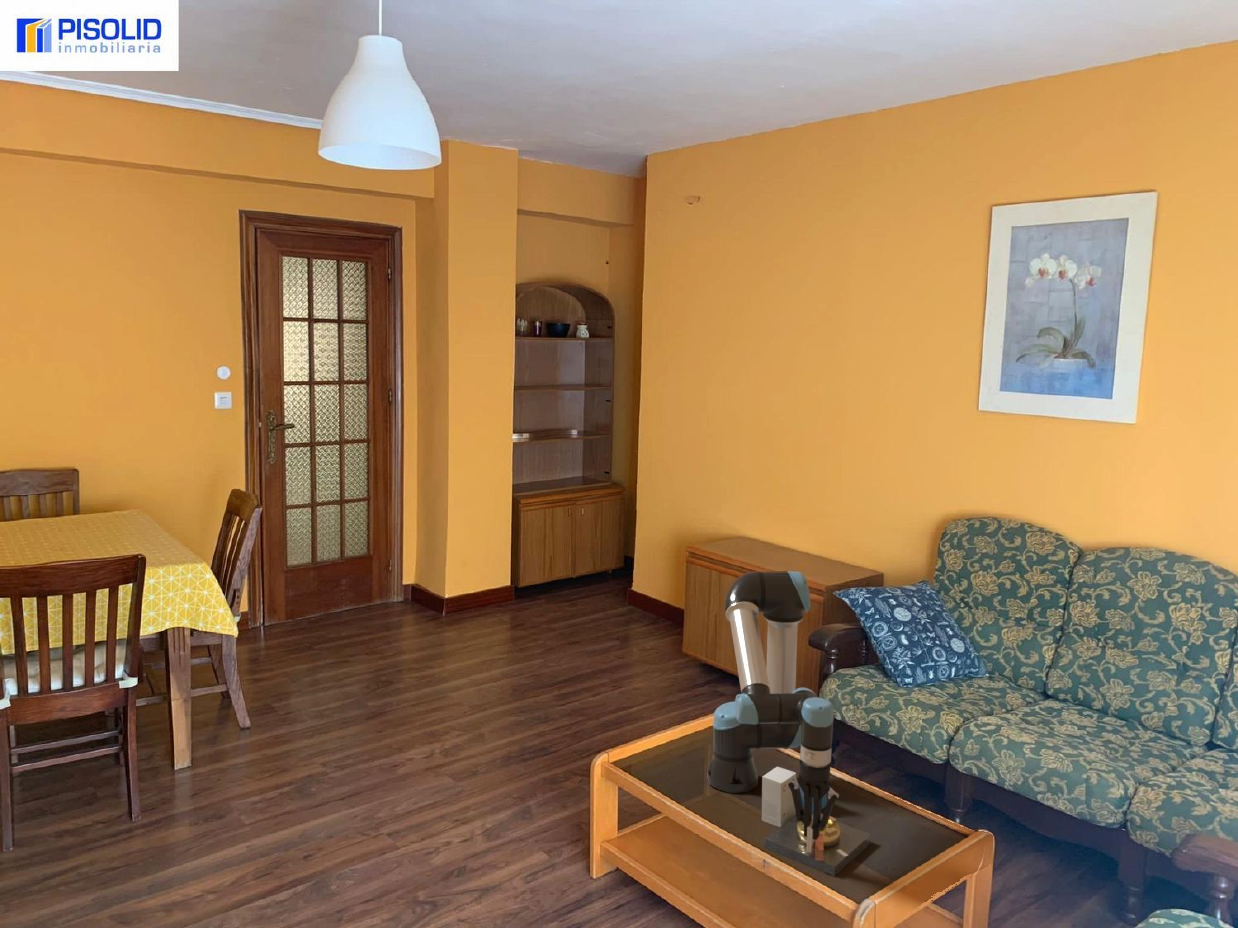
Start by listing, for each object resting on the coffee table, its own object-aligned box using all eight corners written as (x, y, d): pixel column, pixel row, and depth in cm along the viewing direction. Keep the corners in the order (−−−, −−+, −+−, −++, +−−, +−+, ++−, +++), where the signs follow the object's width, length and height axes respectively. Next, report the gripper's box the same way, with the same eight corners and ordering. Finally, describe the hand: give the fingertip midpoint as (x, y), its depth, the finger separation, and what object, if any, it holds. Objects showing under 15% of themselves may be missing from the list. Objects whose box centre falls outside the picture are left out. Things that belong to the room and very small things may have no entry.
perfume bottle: (827, 805, 264) (828, 765, 263) (815, 813, 260) (816, 772, 258) (808, 797, 268) (809, 758, 267) (796, 805, 264) (797, 765, 262)
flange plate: (764, 847, 242) (765, 818, 241) (803, 817, 257) (804, 790, 256) (834, 876, 229) (835, 846, 228) (871, 843, 244) (872, 814, 243)
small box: (776, 809, 262) (777, 765, 260) (796, 816, 258) (797, 772, 256) (760, 820, 256) (761, 775, 254) (781, 828, 252) (782, 783, 250)
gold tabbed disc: (797, 822, 249) (797, 810, 249) (839, 826, 247) (839, 814, 247) (796, 858, 232) (796, 844, 232) (841, 862, 230) (842, 849, 230)
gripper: (785, 760, 231) (781, 848, 235) (834, 773, 225) (829, 864, 228) (796, 748, 238) (792, 835, 241) (845, 762, 231) (840, 850, 234)
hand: (810, 849), depth 235 cm, fingers closed
